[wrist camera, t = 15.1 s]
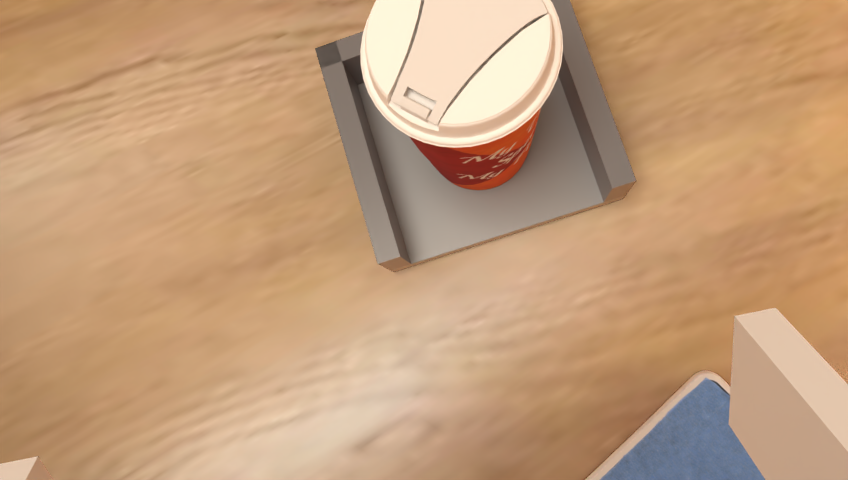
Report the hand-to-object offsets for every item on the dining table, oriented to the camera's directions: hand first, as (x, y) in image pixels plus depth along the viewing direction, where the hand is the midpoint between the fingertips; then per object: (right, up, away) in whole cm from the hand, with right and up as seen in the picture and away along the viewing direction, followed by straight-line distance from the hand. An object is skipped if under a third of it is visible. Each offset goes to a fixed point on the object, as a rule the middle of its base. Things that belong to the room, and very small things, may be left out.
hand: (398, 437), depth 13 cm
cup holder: (+3, +9, +26) cm, 28 cm away
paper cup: (+4, +9, +25) cm, 27 cm away
